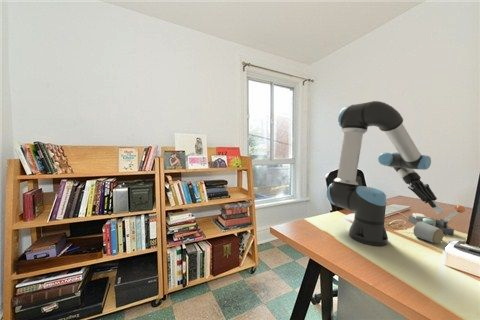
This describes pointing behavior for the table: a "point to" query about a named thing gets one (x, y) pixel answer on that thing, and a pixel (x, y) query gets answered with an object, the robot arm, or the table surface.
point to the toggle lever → (454, 213)
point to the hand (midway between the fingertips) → (441, 212)
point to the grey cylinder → (428, 232)
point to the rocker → (418, 216)
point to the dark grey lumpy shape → (435, 224)
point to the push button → (428, 221)
